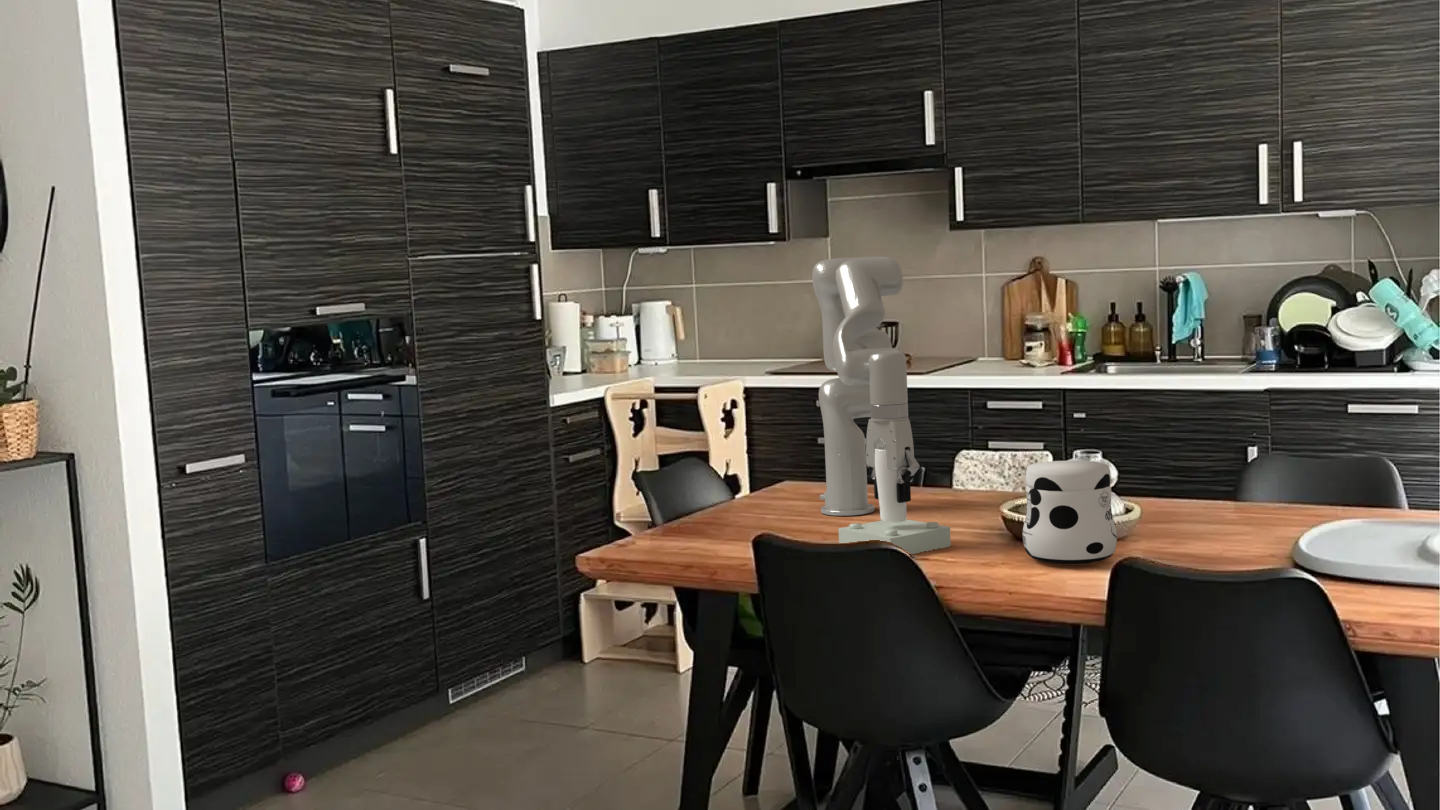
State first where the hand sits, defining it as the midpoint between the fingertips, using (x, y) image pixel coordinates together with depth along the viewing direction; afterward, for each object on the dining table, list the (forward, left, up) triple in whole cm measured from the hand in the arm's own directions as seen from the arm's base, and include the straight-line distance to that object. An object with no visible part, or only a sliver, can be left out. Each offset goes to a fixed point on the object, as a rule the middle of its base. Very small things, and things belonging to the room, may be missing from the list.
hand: (892, 499), depth 282 cm
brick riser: (0, 0, -10) cm, 10 cm away
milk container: (+34, +14, -10) cm, 38 cm away
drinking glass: (0, 0, -5) cm, 5 cm away
